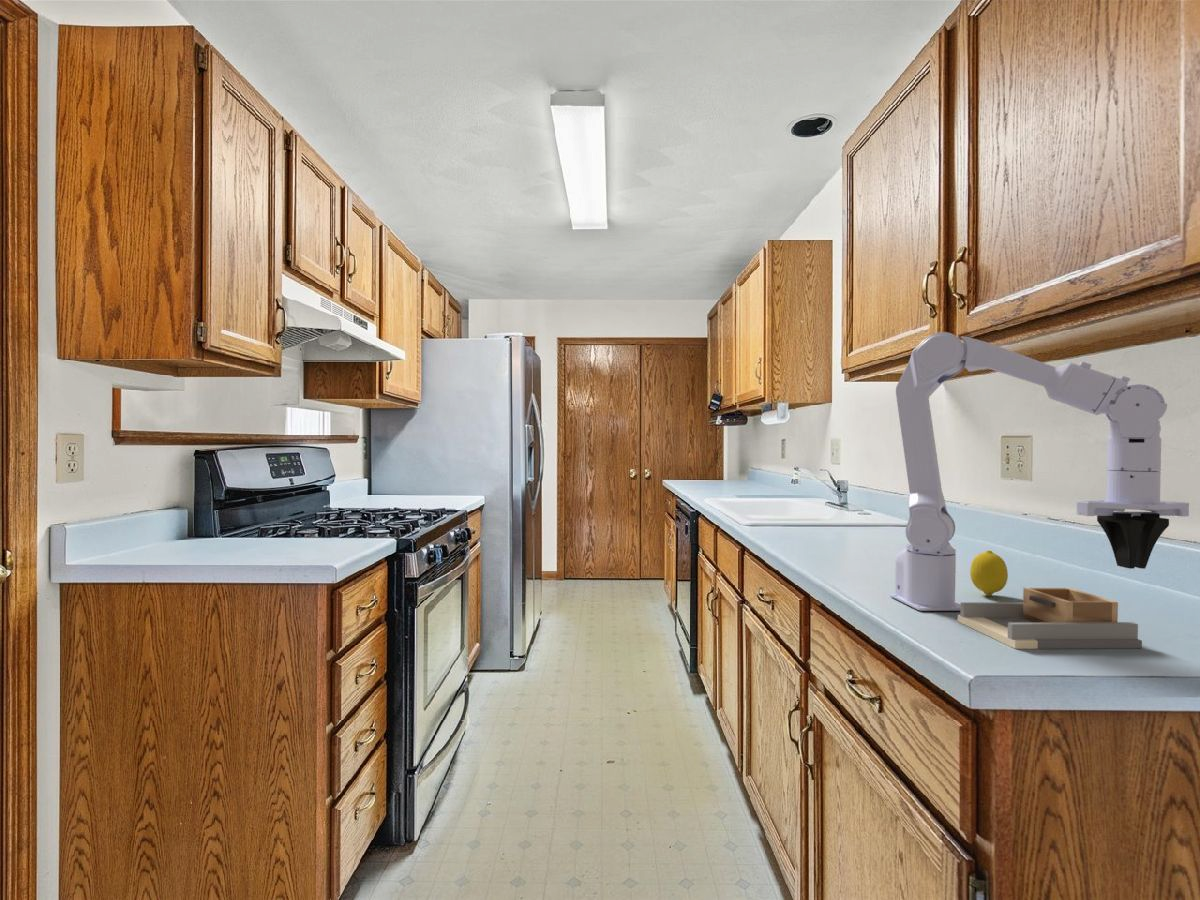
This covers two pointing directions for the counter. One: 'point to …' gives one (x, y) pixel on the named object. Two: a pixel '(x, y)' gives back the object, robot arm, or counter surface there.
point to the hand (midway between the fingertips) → (1131, 567)
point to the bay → (1044, 629)
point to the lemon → (989, 572)
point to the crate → (1067, 606)
